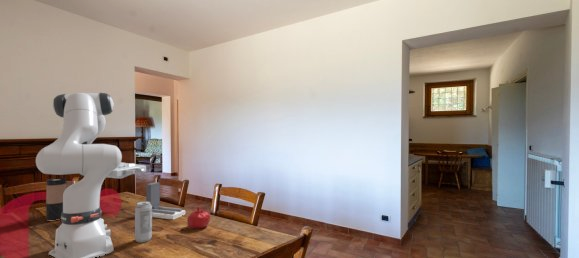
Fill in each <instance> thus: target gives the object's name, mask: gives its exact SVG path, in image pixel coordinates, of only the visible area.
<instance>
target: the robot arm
mask: <svg viewBox="0 0 579 258" xmlns="http://www.w3.org/2000/svg"><path fill="white" fill-rule="evenodd" d="M114 106H115V104H114V100H113V97H111V95H110V94H108V93H106V92H74V93H67V94H66V93H63V94H58V95H56V96H55V97H54V98H53V101H52V109H53V111H54V113H55V114H56V115H57V116H58V117H60V118H63V123H62V132H61V134H60V135H59V137H58V138H57V139H56V140H55V141H54V142H52V143H50V144H49V145H46V146H45V147H43V148H41V149H40V150H39V152H38V153H37V154H36V157H35V165H36V168H37V169H38V170H39V171H40V172H41V173H42V174H45V175H56V176H57V175H59V176H61V175H63V176H64V175H72V174H73V175H74V174H77V175H78V174H79V175H81V176H83V178H81V180H78V181H76V182H75V183H73V184H71V185H69V186H66V189H65V191H64V193H63V212H62V214H61V220H60V222H61V224H60V225H59V226H58V227H57V228H56V230H55V235H54V237H55V240H54V249H51V250H50V251H48V255H49V254H50V255H52V256H54V257H55V258H95V257H97V258H100V257H103V256H106V255H108V254H111V253H112V252H114V251H115V250H114V245H113V242H112V238H111V229H107V228H108V224H105V223H104V222H105V220H104V219H103V218H102V209H101V206H100V202H101V201H100V198H101V189H102V185H103V183H104V180H106V178H112V179H124V178H126V177H128V176H132V175H136V174H142V173H146V172H147V165H146V164H145V165H144V164H137V163H134V162H129V163H128V162H127V163H126V162H122V158H123V154H122V151H121V150H120V148H119V147H118V146H117V145H113V144H106V143H93V142H94V141H95V140H96V139H97V138H98V137H99V136H100V135H101V134H102V133H103V131H105V128H106V123H107V121H106V118H105V116H107V115H110V114H112V112H113V110H114ZM105 254H106V255H105ZM99 256H100V257H99Z"/></svg>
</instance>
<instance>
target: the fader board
mask: <svg viewBox="0 0 579 258" xmlns="http://www.w3.org/2000/svg"><path fill="white" fill-rule="evenodd" d="M158 206H159V209H158V210H157V209H152V218H156V219H157V218H158V219H165V220H175V219H178V218H180V217H183V216H184V215H186V210H184V209H182V208H178V207H177V208H176V207H167V206H166V207H165V206H161V205H158ZM182 215H183V216H182Z"/></svg>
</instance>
